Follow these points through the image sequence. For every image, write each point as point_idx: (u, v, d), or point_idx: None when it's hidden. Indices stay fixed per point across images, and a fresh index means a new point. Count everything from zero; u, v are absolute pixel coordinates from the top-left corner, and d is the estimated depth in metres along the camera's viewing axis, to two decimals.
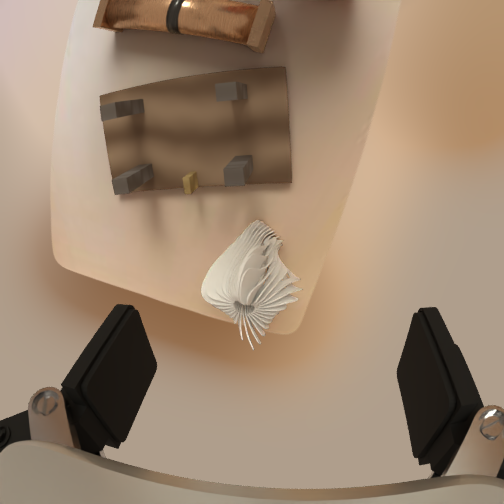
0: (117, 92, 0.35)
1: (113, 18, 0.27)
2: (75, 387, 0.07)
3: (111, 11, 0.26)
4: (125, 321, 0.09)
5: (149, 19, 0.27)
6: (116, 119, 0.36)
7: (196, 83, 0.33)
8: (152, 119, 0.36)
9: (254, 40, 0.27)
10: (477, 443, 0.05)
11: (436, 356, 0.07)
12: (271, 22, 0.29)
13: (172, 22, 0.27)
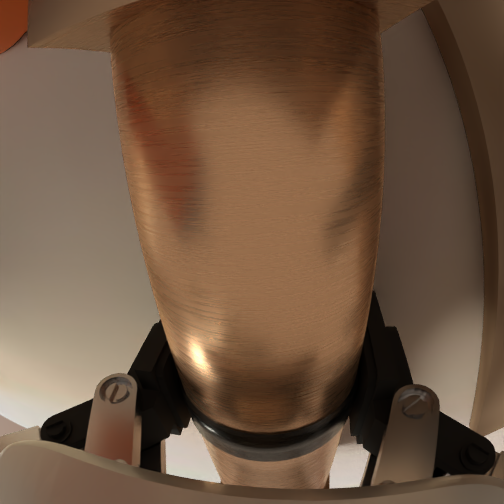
0: (482, 417, 0.12)
1: None
2: (151, 370, 0.07)
3: None
4: None
5: (311, 473, 0.08)
6: None
7: None
8: None
9: None
10: (403, 426, 0.06)
11: None
12: None
13: (324, 432, 0.07)
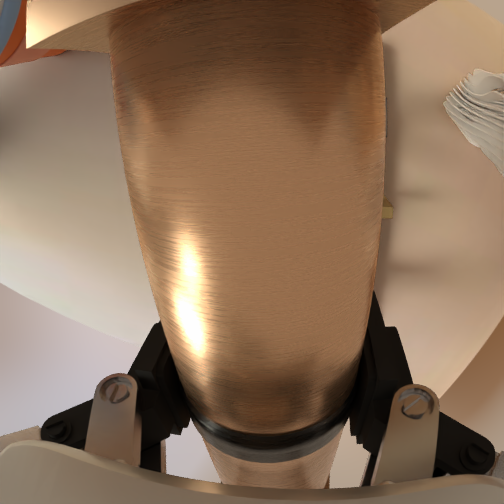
0: None
1: None
2: (151, 370, 0.07)
3: None
4: None
5: (311, 474, 0.08)
6: None
7: None
8: None
9: None
10: (403, 426, 0.06)
11: None
12: None
13: (324, 434, 0.07)
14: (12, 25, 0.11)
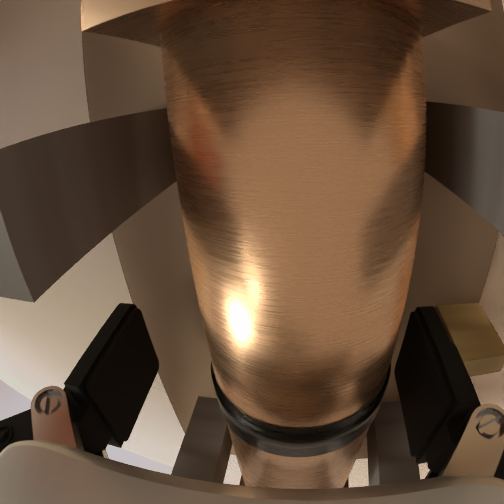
0: (184, 427, 0.17)
1: None
2: (78, 386, 0.07)
3: None
4: (128, 320, 0.09)
5: (338, 469, 0.08)
6: None
7: (145, 275, 0.12)
8: None
9: None
10: (474, 442, 0.05)
11: (433, 355, 0.07)
12: None
13: (357, 426, 0.07)
14: None
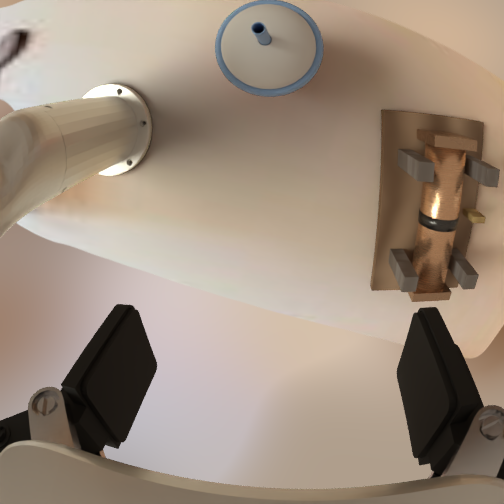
0: (375, 272, 0.41)
1: (442, 282, 0.35)
2: (75, 387, 0.07)
3: (437, 286, 0.35)
4: (125, 321, 0.09)
5: (450, 246, 0.33)
6: None
7: (389, 196, 0.36)
8: (411, 242, 0.38)
9: (472, 144, 0.26)
10: (477, 443, 0.05)
11: (436, 356, 0.07)
12: (432, 131, 0.30)
13: (456, 224, 0.31)
14: (316, 71, 0.23)
